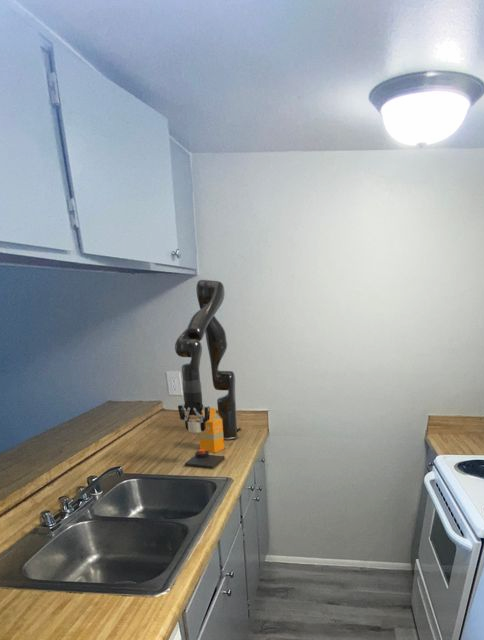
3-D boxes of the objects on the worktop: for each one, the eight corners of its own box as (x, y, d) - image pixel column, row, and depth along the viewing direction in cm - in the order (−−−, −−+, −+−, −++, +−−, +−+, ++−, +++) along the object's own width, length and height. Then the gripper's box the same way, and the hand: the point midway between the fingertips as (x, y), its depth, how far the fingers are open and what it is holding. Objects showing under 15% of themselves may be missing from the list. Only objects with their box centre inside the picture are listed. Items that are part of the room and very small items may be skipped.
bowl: (192, 429, 207) (191, 419, 205) (205, 430, 206) (204, 420, 204) (186, 432, 202) (185, 422, 200) (199, 434, 201) (198, 423, 199)
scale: (199, 456, 219) (198, 450, 218) (225, 458, 216) (224, 452, 215) (185, 466, 207) (184, 459, 205) (212, 469, 204) (211, 462, 202)
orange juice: (209, 445, 233) (206, 404, 224) (224, 448, 230) (221, 407, 220) (199, 450, 227) (196, 408, 218) (214, 452, 224) (211, 410, 214)
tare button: (200, 452, 216) (200, 448, 215) (206, 452, 215) (206, 449, 215) (197, 454, 214) (197, 450, 213) (203, 454, 213) (203, 451, 212)
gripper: (212, 389, 197) (214, 429, 205) (180, 387, 201) (184, 426, 209) (204, 393, 191) (207, 433, 199) (172, 391, 194) (176, 431, 202)
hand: (195, 430), depth 204 cm, fingers closed on bowl, 6 cm apart
